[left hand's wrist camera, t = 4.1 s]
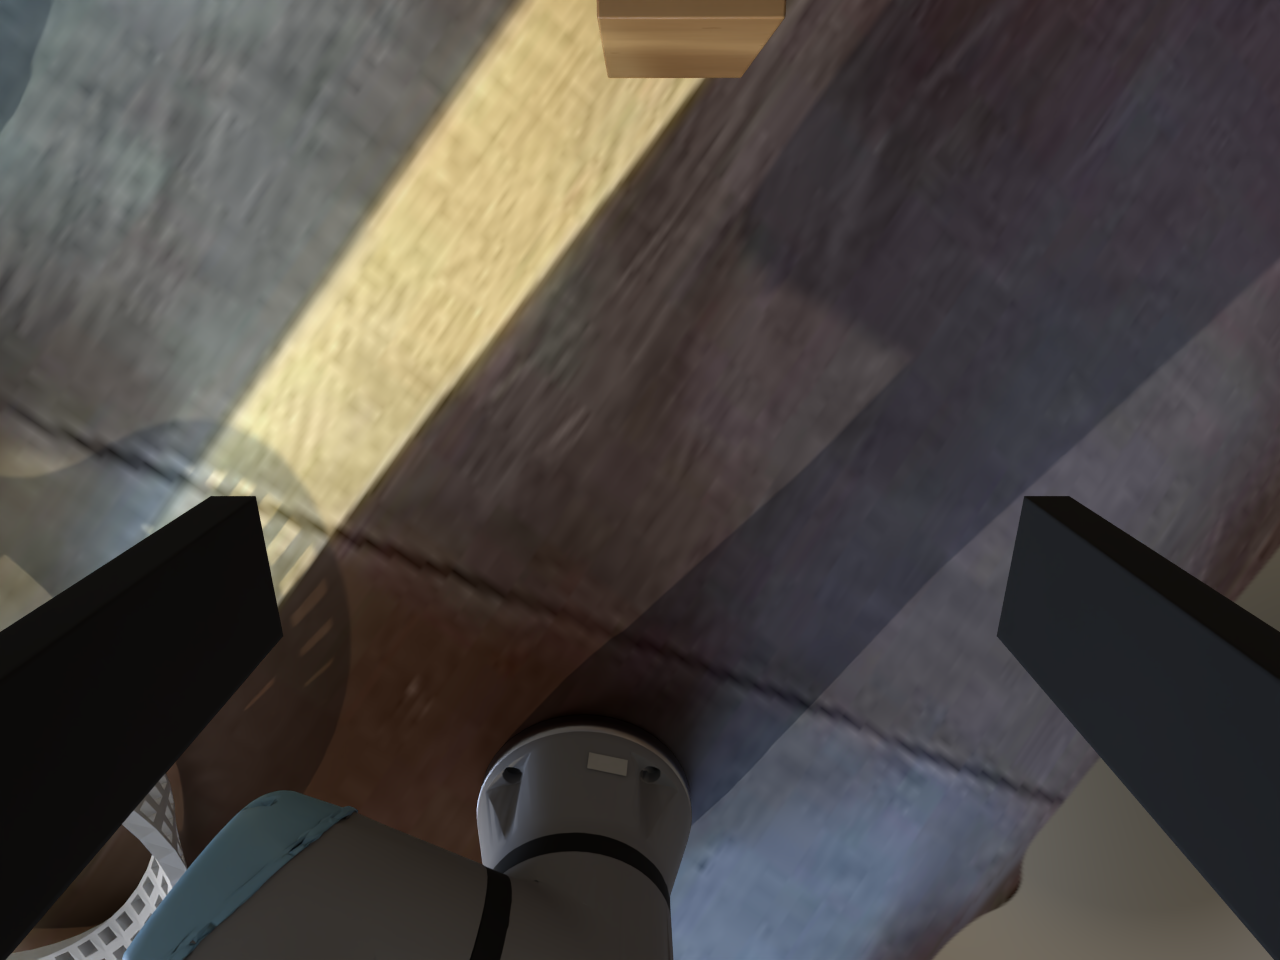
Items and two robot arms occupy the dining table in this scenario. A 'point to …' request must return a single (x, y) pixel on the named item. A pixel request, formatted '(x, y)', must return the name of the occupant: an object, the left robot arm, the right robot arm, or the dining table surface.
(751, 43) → the bar
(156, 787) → the decorative object
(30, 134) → the dining table surface
